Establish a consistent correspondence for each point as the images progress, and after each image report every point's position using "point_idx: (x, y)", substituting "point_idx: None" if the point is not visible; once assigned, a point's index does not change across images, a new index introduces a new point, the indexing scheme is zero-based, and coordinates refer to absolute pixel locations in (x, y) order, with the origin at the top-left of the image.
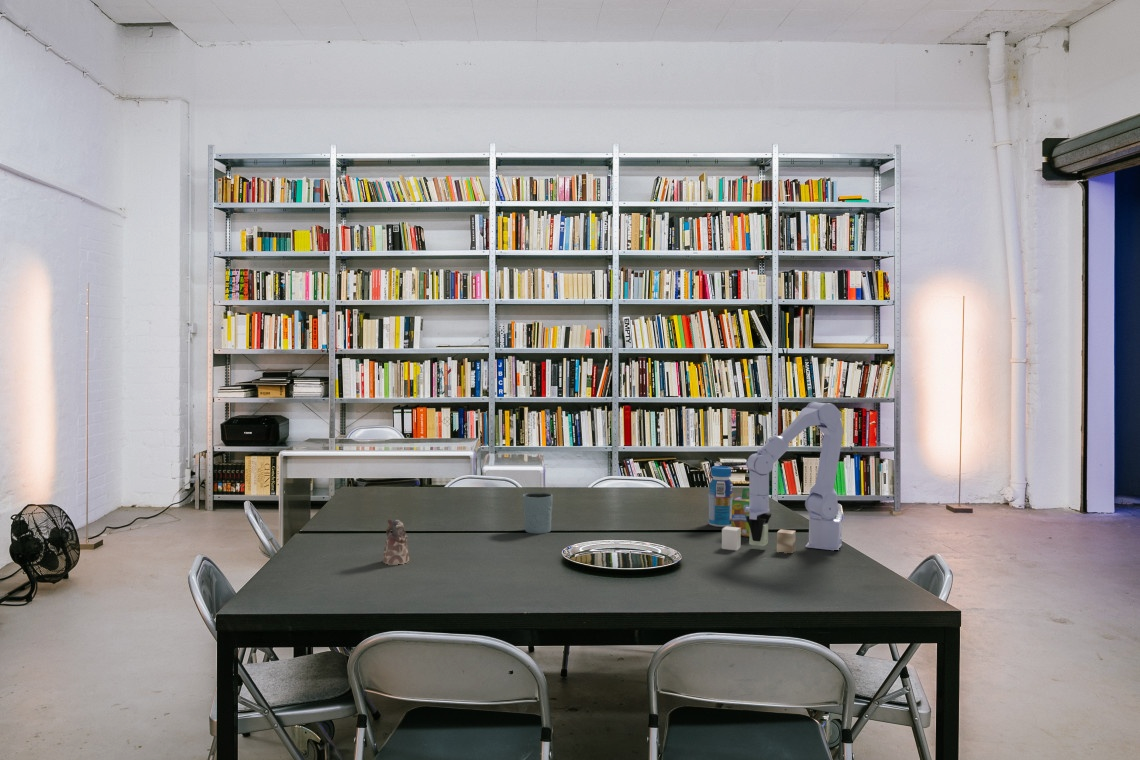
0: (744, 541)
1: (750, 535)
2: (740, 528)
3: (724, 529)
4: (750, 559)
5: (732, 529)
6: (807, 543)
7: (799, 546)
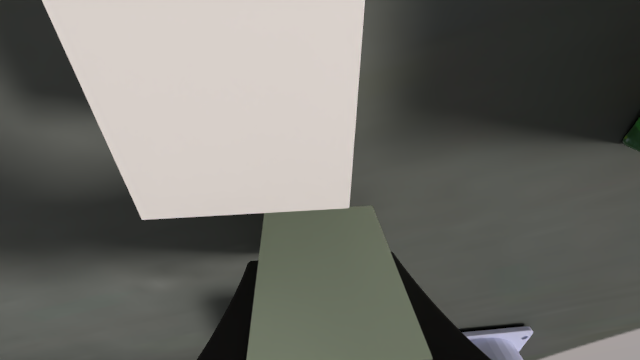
0: (513, 89)
1: (259, 271)
2: (337, 204)
3: (55, 19)
4: (67, 247)
5: (166, 154)
6: (481, 334)
7: (451, 316)
